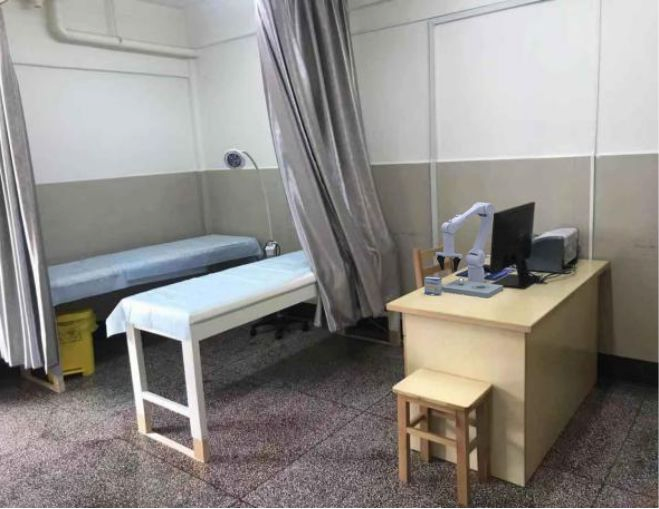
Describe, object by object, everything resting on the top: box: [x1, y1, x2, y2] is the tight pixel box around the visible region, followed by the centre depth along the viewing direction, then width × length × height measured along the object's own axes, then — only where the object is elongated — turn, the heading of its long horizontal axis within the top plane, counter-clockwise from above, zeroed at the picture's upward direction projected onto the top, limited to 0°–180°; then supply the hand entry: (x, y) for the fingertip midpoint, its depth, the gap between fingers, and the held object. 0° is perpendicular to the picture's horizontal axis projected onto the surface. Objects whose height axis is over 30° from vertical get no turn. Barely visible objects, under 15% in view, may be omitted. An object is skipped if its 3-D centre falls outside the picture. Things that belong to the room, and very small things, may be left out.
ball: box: [457, 277, 466, 285], centre depth 287 cm, size 4×4×4 cm
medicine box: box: [424, 276, 443, 296], centre depth 281 cm, size 8×4×9 cm, turn 62°
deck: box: [442, 279, 504, 299], centre depth 283 cm, size 26×18×2 cm
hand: (448, 270), depth 290 cm, fingers open, 7 cm apart
